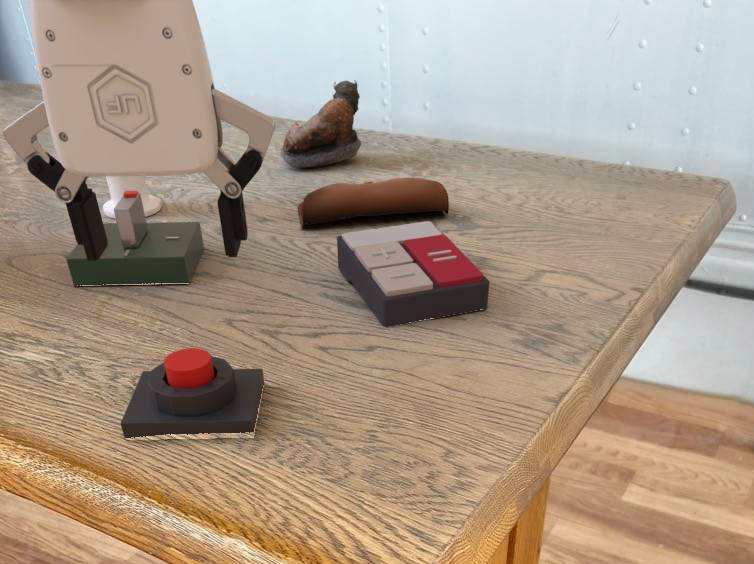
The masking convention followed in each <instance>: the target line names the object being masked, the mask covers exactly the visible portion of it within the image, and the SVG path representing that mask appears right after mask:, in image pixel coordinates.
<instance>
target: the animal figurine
mask: <svg viewBox="0 0 754 564" xmlns="http://www.w3.org/2000/svg"><path fill="white" fill-rule="evenodd" d="M353 81H354V82H351V81H349V80H342V81H340V82H338V83H336V81H334V82H333V89H334V91H335V92H334V93H333V94H332V98H331V99H330V100H328V101H327V102H326V103H325V104H323V105H322V107H320V109H319V110H318V112H316V114H314V115H313V116H311V117H310V118H309V119H308V120H307V121H306V122H305V124H299V123H298V122H296V121H295V122H293V123H292V124H291V125H290V128H289V129H288V131H287V133H286V134H285V136H284V140H283V145H282V146H281V148H280V151H279V152H280V156H281V158H282V160H283V161H284V162H285V163H286V164H287V165H289V166H290V167H293V168H317V167H323V166H327V165H332V164H334V163H338V162H341V161H345V160H347V159H350V158H353V157H355V156H357V155H358V152H359V150H360V148H361V146H362V141H361V139H360V138H359V137H358V133H357V131H356V130H355V129H354V121H355V115H356V113H357V112H358V111H359V99H360V98H361V96H360V93H359V91H358V81H357V80H356V79H353Z"/></svg>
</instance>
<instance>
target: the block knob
mask: <svg viewBox="0 0 754 564" xmlns="http://www.w3.org/2000/svg"><path fill="white" fill-rule="evenodd" d="M114 213H115V217H116V219H115V221H116V223H117V226H118V230H119V234H120V238H121V242H122V246H123V248H137V247H138V246H139V245H140V243H141V241H142V239H143V238H144V236H145V234H146V233H147V231H148V227H147V223H148V222H147V217H145V213H144V209H143V204H142V200H141V195H140V193H138V191H125V192H124V194H123V197H122V198H121V200H120V201H119V202H118V204H117V205H116V206H115V208H114Z"/></svg>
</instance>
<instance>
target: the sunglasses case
mask: <svg viewBox="0 0 754 564" xmlns="http://www.w3.org/2000/svg"><path fill="white" fill-rule="evenodd" d="M449 205H450V201H449V194H448V191H447V189H446V187H445V186H444V184H442V183H441V182H439V181H437V180H431V179H427V178H422V177H396V178H391V179H386V180H383V181H376V182H373V181H364V182H363V183H347V182H339V183H333V184H332V183H331V184H328V185H325V186H322V187H320V188H316V189H314V190H313V191H311V192H308V193H307V194H306V195H305V196H304V198H303V199H302V202H300V203H298V206H297V213H298V217H299V223H300V227H301V229H303V228H304V227H305V228H306V225H308V226H309V225H316V224H322V223H323V224H324V223H328V222H335V221H339V220H342V219H343V220H348V219H352V218H357V217H377V216H385V215H393V214H397V215H399V214H404V215H405V214H412V213H413V214H414V213H424V212H427V213H428V212H444V213H445V214H446V215H447V216H448V215H449V209H450V207H449Z"/></svg>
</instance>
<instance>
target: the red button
mask: <svg viewBox="0 0 754 564" xmlns="http://www.w3.org/2000/svg"><path fill="white" fill-rule="evenodd" d="M211 356H212V355H211V354H210V352H209V351H208V350H205V349H203V348H197V347H196V348H195V347H187V348H181V349H178V350H174V351H173V352H171V353H169V354H168V355H166V356H165V358H164V360H163V362H164V366H165V370H166V375H167V379H168V383H169V385H170V386H172V387H175V388H178V389H188V388H196V387H199V386H203V385H206V384H208V383H210V382H211V381H212V380H214V377H215V376H214V370H213V365H212V359H211Z"/></svg>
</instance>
